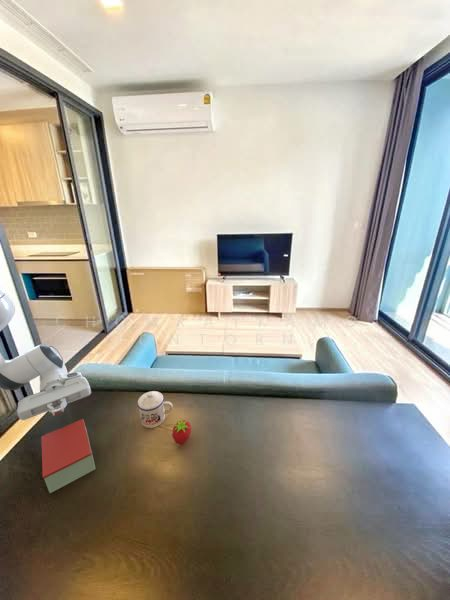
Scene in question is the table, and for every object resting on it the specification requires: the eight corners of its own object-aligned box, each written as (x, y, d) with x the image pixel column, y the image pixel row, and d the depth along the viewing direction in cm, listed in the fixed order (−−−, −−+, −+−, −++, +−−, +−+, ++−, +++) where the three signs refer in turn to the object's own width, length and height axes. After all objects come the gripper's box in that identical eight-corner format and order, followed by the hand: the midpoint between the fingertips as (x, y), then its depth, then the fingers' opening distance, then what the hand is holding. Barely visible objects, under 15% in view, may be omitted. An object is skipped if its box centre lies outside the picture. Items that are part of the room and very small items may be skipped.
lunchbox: (95, 469, 75) (91, 452, 72) (49, 493, 69) (43, 476, 66) (87, 435, 86) (83, 420, 84) (47, 453, 80) (41, 438, 77)
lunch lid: (91, 454, 72) (91, 453, 72) (43, 479, 66) (42, 477, 65) (83, 420, 84) (83, 418, 83) (41, 438, 77) (41, 436, 77)
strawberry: (194, 434, 86) (192, 412, 82) (188, 454, 79) (186, 431, 75) (177, 432, 87) (175, 410, 83) (170, 452, 80) (168, 429, 76)
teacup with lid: (138, 430, 88) (133, 404, 84) (143, 410, 96) (139, 386, 92) (172, 427, 89) (169, 401, 85) (174, 408, 97) (172, 383, 93)
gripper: (15, 392, 81) (12, 420, 71) (85, 370, 93) (91, 390, 82) (21, 408, 84) (19, 436, 73) (88, 384, 95) (95, 406, 84)
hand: (58, 412), depth 78 cm, fingers closed
